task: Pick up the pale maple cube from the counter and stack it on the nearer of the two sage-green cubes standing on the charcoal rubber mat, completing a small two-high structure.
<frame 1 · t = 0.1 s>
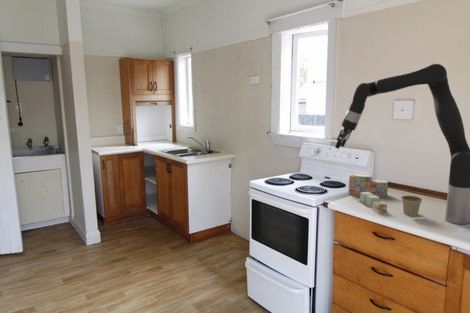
hand: (339, 147, 184), 31 cm above the countertop, tool tilted 20°, fingers open, 8 cm apart
stack of blocks: (367, 195, 203), on the countertop
maple block: (379, 212, 172), on the countertop
sage block near: (372, 205, 181), point 1 cm above the countertop, touching build mat
sage block far: (366, 201, 187), point 1 cm above the countertop, touching build mat
flower pot: (410, 215, 168), on the countertop
build mat: (371, 204, 184), on the countertop
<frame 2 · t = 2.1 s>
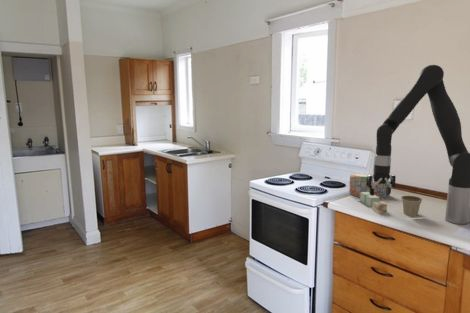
hand: (379, 195, 171), 9 cm above the countertop, tool pointing down, fingers open, 8 cm apart
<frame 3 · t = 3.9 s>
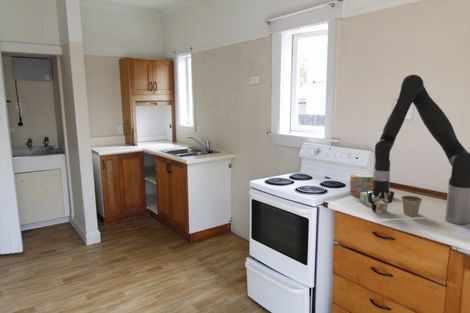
hand: (379, 210, 172), 1 cm above the countertop, tool pointing down, fingers closed on maple block, 5 cm apart
maple block: (379, 212, 172), on the countertop, touching gripper
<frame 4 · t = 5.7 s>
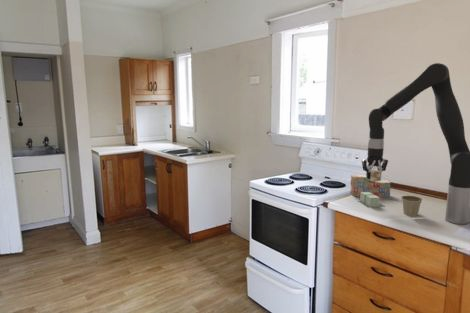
hand: (373, 178, 178), 16 cm above the countertop, tool pointing down, fingers closed on maple block, 5 cm apart
maple block: (373, 179, 178), point 15 cm above the countertop, touching gripper
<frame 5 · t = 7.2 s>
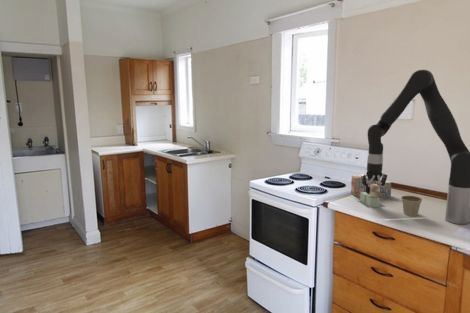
hand: (373, 193, 180), 8 cm above the countertop, tool pointing down, fingers closed on maple block, 5 cm apart
maple block: (372, 194, 180), point 7 cm above the countertop, touching gripper
when the fingers open (7 cm above the countertop, at t = 8.0 s): maple block drops 1 cm, resting on sage block near.
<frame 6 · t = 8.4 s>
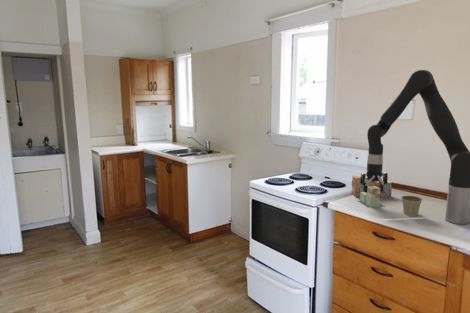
hand: (373, 192, 180), 8 cm above the countertop, tool pointing down, fingers open, 8 cm apart
maple block: (372, 196, 180), point 6 cm above the countertop, touching sage block near
sage block near: (372, 205, 181), point 1 cm above the countertop, touching build mat, maple block
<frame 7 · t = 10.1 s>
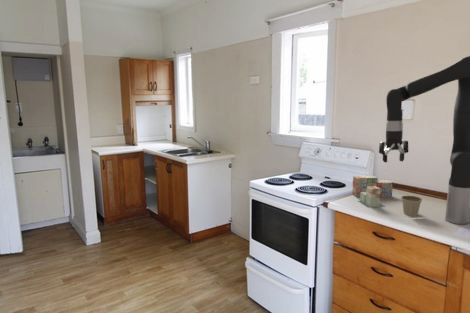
hand: (393, 161, 170), 26 cm above the countertop, tool pointing down, fingers open, 8 cm apart
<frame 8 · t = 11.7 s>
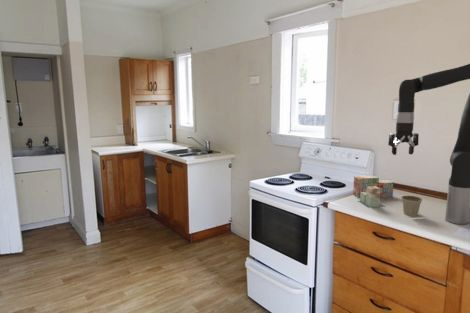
hand: (402, 154, 166), 30 cm above the countertop, tool pointing down, fingers open, 8 cm apart
at the end: maple block 0.0 cm off-centre on the sage block near, point 5.0 cm above the sage block near's base; maple block tilted 0°; sage block near moved 0.0 cm from its start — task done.
